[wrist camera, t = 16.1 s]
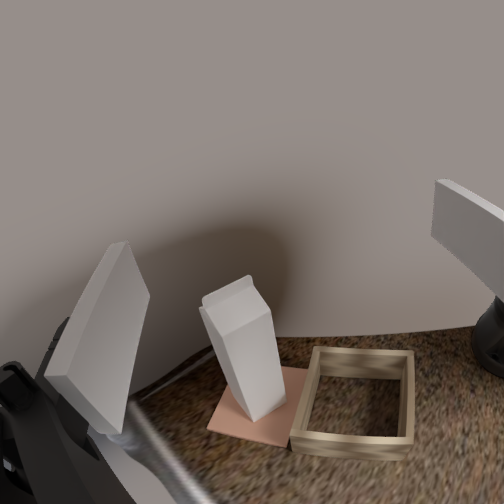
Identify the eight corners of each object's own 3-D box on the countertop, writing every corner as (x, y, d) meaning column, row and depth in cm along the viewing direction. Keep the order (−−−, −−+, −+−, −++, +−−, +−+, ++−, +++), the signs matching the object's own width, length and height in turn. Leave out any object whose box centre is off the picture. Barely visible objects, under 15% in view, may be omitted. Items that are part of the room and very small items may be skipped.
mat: (308, 371, 46) (308, 369, 46) (286, 447, 35) (286, 446, 34) (239, 362, 50) (238, 360, 50) (207, 429, 39) (206, 428, 39)
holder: (406, 374, 41) (413, 350, 38) (401, 460, 29) (413, 444, 26) (315, 369, 46) (314, 345, 43) (292, 452, 34) (289, 435, 31)
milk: (287, 402, 41) (268, 286, 30) (253, 423, 39) (214, 314, 28) (265, 377, 46) (238, 262, 35) (232, 396, 43) (190, 285, 32)
